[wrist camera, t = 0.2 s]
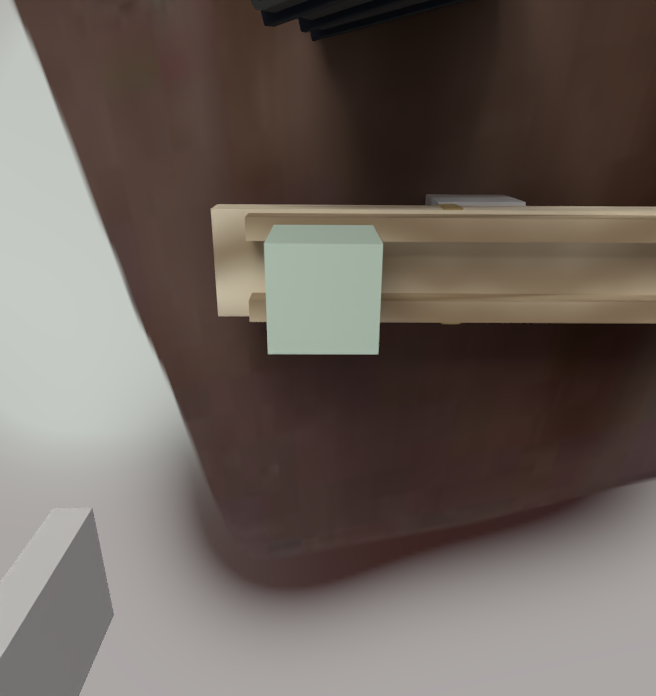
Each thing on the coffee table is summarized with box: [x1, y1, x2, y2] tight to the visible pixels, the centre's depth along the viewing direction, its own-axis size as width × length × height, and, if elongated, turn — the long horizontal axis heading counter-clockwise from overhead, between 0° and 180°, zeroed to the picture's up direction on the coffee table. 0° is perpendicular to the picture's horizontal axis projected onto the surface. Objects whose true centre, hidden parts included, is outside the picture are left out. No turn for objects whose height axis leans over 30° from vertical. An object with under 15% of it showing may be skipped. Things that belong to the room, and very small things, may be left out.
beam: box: [211, 194, 656, 324], centre depth 33 cm, size 6×30×8 cm, turn 90°
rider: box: [264, 225, 383, 354], centre depth 27 cm, size 5×5×7 cm
